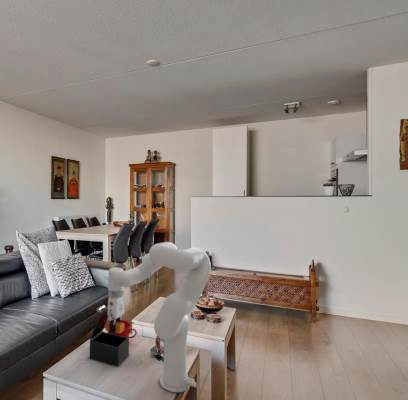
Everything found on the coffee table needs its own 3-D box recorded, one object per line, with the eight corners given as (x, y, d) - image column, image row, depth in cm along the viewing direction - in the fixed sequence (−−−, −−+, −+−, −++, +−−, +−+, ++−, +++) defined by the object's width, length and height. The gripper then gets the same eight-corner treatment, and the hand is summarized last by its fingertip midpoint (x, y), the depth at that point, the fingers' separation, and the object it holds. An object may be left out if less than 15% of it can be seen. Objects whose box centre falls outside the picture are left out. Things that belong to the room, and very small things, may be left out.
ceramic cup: (132, 351, 162) (132, 332, 162) (102, 344, 169) (103, 326, 169) (140, 341, 173) (140, 323, 173) (112, 335, 180) (112, 318, 180)
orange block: (124, 329, 155) (124, 322, 155) (120, 333, 150) (120, 326, 150) (110, 326, 158) (110, 319, 158) (105, 330, 154) (105, 323, 154)
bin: (128, 355, 157) (128, 337, 157) (118, 366, 146) (118, 348, 146) (101, 348, 165) (102, 331, 165) (89, 358, 153) (89, 340, 153)
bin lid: (114, 304, 161) (106, 299, 163) (102, 312, 150) (95, 306, 152) (102, 331, 164) (95, 325, 166) (90, 340, 153) (83, 334, 155)
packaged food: (175, 352, 160) (175, 343, 160) (164, 362, 151) (164, 352, 151) (160, 348, 166) (160, 338, 166) (149, 356, 156) (149, 347, 156)
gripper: (114, 299, 145) (114, 338, 145) (129, 289, 160) (128, 325, 160) (100, 296, 148) (100, 334, 148) (116, 287, 163) (115, 322, 163)
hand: (115, 329), depth 154 cm, fingers closed on orange block, 5 cm apart
